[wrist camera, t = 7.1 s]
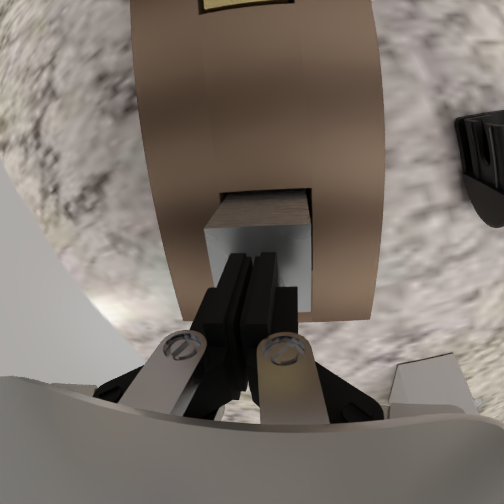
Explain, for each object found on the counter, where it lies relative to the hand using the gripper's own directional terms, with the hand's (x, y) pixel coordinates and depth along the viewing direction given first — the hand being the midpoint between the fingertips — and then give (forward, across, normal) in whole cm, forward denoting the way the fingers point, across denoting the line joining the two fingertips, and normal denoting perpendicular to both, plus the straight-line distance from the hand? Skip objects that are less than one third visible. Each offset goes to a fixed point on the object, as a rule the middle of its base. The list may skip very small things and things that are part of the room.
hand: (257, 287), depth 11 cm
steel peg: (+7, 0, 0) cm, 7 cm away
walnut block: (+11, 0, -7) cm, 13 cm away
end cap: (+11, -19, -4) cm, 22 cm away
